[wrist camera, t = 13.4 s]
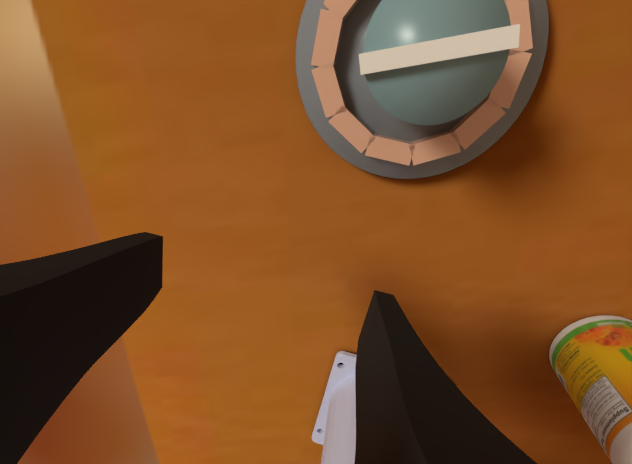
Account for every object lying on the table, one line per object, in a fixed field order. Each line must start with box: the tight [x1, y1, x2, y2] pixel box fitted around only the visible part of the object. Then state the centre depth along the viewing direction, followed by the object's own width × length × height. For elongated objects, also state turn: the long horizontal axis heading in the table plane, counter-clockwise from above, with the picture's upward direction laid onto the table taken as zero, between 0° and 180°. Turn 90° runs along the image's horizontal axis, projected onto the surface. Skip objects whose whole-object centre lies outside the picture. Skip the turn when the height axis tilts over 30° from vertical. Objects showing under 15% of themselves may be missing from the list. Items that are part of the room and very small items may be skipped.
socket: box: [296, 0, 549, 179], centre depth 16 cm, size 11×11×2 cm
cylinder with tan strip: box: [359, 0, 520, 125], centre depth 13 cm, size 5×4×6 cm
